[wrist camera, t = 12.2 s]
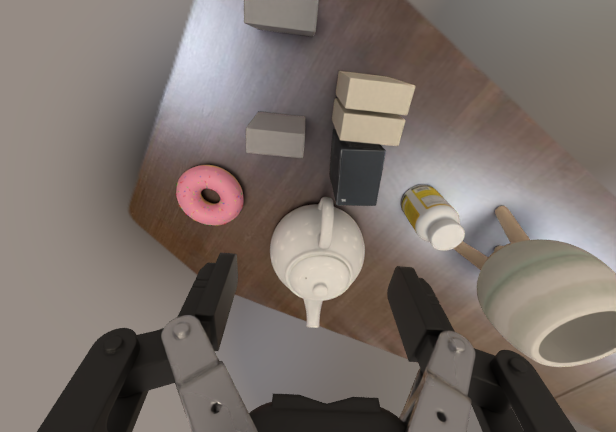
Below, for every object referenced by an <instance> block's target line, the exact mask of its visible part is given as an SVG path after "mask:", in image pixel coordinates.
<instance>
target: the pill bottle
mask: <svg viewBox="0 0 616 432" xmlns="http://www.w3.org/2000/svg"><path fill="white" fill-rule="evenodd" d="M401 208H402V210H403V212H404V214H405V215H406V217H407V218H408V220H409V222H410V223H411V225H412V226H413V228H414V230H415V231H416V233H417V234H418V236H419V237H420V238H421V239H423V240H425V241H427V242H430V243H431V244H432V246H433V247H434V248H435V249H437V250H442V251H445V250H450V249H453V248H455V247H457V246H458V245H459V244H460V243H461V242H462V241H463V239H464V236H465V232H464V229H463V228H462V227H461V225H460V218H459V215H458V213H457V212H456V210H455V209H454V208H453V207H452V206H451V205H450V204H449V203H448V202H447V201H446V200H445V199H444V198H443V197H442V196H441V195H440V194H439V193H438V192H437V191H436V190H435V189H434V188H433V187H431V186H429V185H417V186H414V187H412V188H411V189H409V190H408V191H407V192H406V193H405V194H404V196H403V198H402V200H401Z"/></svg>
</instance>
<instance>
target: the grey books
mask: <svg viewBox="0 0 616 432" xmlns="http://www.w3.org/2000/svg"><path fill="white" fill-rule="evenodd" d="M318 3H319V0H244V23H245V24H248V25H250V26H252V27H255V28H257V29H259V30H265V31H273V32H281V33H288V34H296V35H304V36H312V37H313V35H314V34H315V32H316V23H317V13H318ZM304 143H305V116H296V115H286V114H277V113H268V112H258V113H257V114H256V115H255V117H254V118H253V119H252V121H251V122H250V123H249V125H248V126H247V127H246V153H254V154H264V155H274V156H284V157H294V158H303V152H304Z"/></svg>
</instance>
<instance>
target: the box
mask: <svg viewBox="0 0 616 432" xmlns="http://www.w3.org/2000/svg"><path fill="white" fill-rule="evenodd" d="M385 154H386V151H385V150H384V148H383V147H382V146H381V145H380V144H372V143H362V142H353V141H343V140H340V139H339V137H338V134H337V132H336V129H334V130H333V136H332V149H331V162H330V179H331V184H332V188H333V192H334V196H335V201H336V205H353V206H376V203H377V197H378V191H379V186H380V181H381V175H382V170H383V164H384V159H385Z"/></svg>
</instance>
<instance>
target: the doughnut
mask: <svg viewBox="0 0 616 432" xmlns="http://www.w3.org/2000/svg"><path fill="white" fill-rule="evenodd" d="M205 188H208V189H211V190H214V191H216V192H217V193H218V194H219V196H220V202H219V203H216V204H213V203H209V202H207V201H206V200H205V199H204V198H203V197H202V195H201V191H202V190H203V189H205ZM176 195H177V200H178V202H179V206H180V207H181V208H182V210H183V211H184V212H185V213H186V215H188V216H190V217H191V218H192V219H194V220H195V221H198V222H200V223H203V224H207V225H209V226H210V225H216V226H217V225H221V224H225V223H227V222H230V221H232V220H233V219H235V217H236V216H237V215H238V214H239V213H241V212H240V211H241V209H242V207H243V192H242V189H241V186H240V184H239V182H238V181H237V180H236V178H235V177H234V176H233V175H232V174H230V173H229V172H228V171H226V170H224V169H222V168H220V167H217V166H213V165H200V166H196V167H193V168H191V169H189V170H187V171H186V172H184V173H183V174H182V176H181V177H180V178H179V180H178V183H177V190H176Z"/></svg>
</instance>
